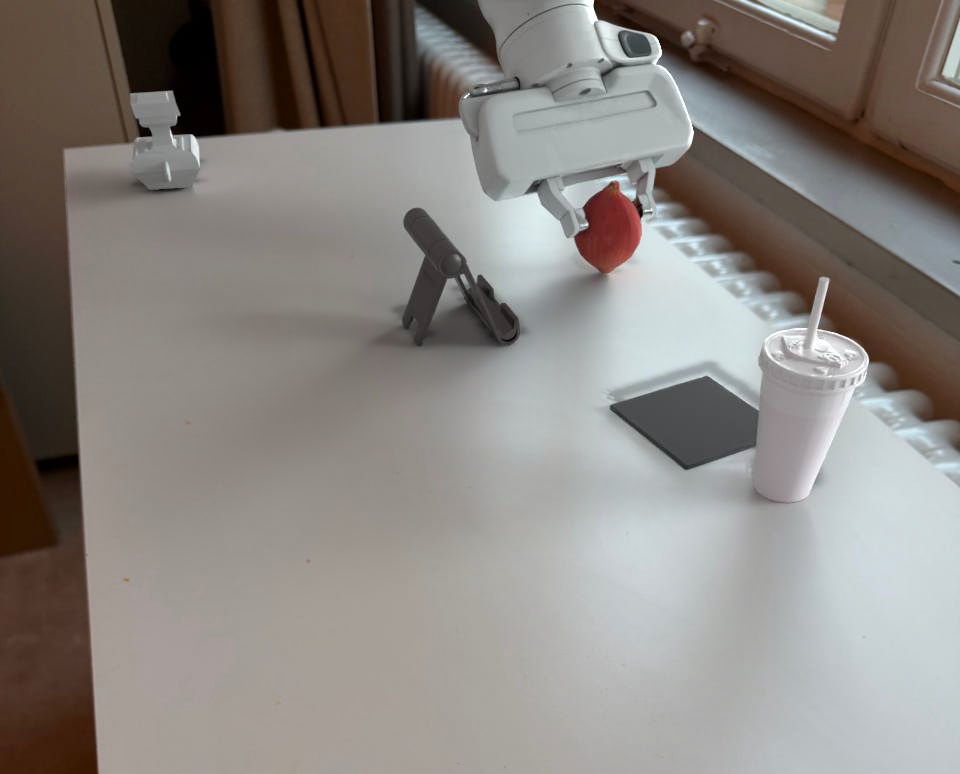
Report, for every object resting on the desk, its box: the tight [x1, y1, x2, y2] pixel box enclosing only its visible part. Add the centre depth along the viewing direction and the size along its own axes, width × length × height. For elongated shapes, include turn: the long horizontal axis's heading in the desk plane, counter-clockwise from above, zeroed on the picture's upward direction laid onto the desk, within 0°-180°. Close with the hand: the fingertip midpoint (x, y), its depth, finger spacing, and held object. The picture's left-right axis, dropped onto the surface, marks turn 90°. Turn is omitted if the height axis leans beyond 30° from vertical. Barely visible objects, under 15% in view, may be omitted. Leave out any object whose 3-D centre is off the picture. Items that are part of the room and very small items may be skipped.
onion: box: [573, 180, 643, 275], centre depth 89 cm, size 6×6×8 cm
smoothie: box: [752, 276, 870, 504], centre depth 63 cm, size 6×6×14 cm
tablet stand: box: [401, 207, 521, 347], centre depth 81 cm, size 9×8×8 cm
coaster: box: [609, 374, 759, 471], centre depth 74 cm, size 9×9×1 cm
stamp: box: [129, 90, 201, 191], centre depth 104 cm, size 9×7×8 cm
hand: (613, 226), depth 89 cm, fingers closed on onion, 6 cm apart
